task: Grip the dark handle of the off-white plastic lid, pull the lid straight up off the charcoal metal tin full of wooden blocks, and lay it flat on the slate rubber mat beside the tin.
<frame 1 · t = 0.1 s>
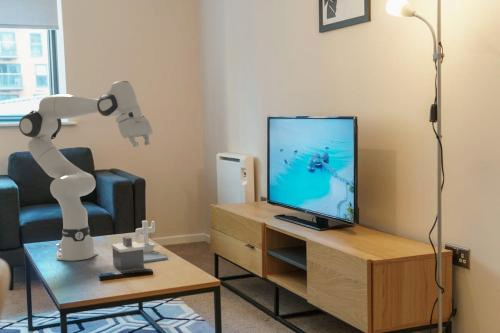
hand: (142, 146, 290), 52 cm above the table, tool tilted 20°, fingers open, 8 cm apart
lid: (127, 251, 289), point 6 cm above the table, touching tin box
tin box: (128, 266, 290), on the table
figurine: (146, 252, 318), on the table
slate mat: (150, 258, 304), on the table
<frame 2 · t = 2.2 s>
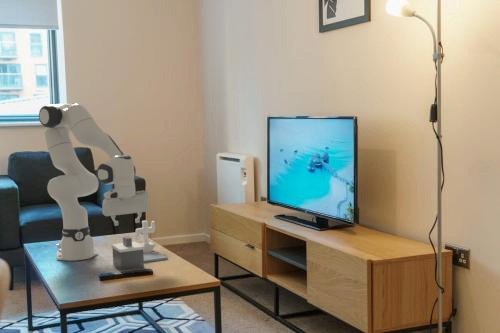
hand: (127, 224, 288), 19 cm above the table, tool pointing down, fingers open, 8 cm apart
nothing on the table moved.
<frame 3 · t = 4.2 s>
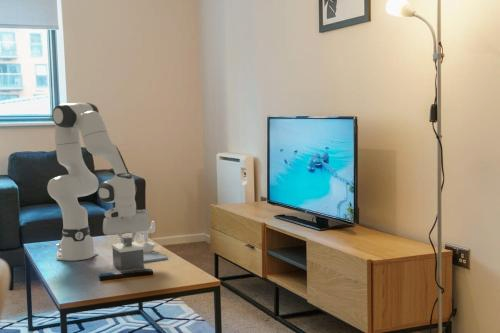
hand: (127, 242, 289), 10 cm above the table, tool pointing down, fingers closed on lid, 2 cm apart
lid: (127, 251, 289), point 6 cm above the table, touching gripper, tin box
everything else where it was.
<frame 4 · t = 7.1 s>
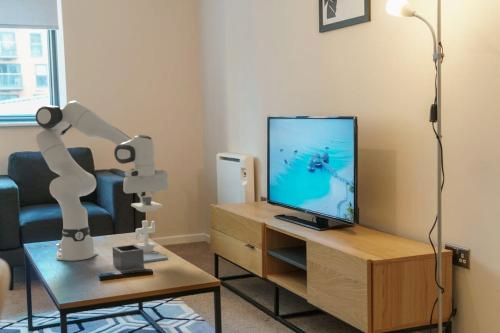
hand: (146, 201, 300), 26 cm above the table, tool pointing down, fingers closed on lid, 2 cm apart
lid: (146, 210, 301), point 22 cm above the table, touching gripper
everything else where it was.
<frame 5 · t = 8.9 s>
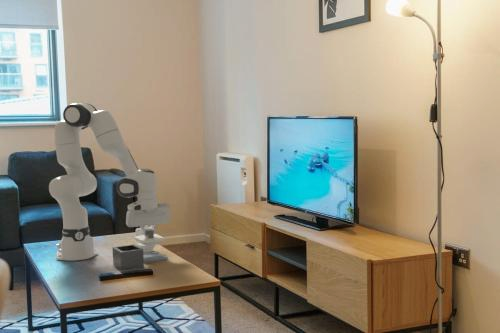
hand: (149, 234, 303), 11 cm above the table, tool pointing down, fingers closed on lid, 2 cm apart
lid: (149, 243, 303), point 7 cm above the table, touching gripper
everything else where it was.
when the fingers open (6 cm above the table, at t = 10.4 s): lid drops 1 cm, resting on slate mat.
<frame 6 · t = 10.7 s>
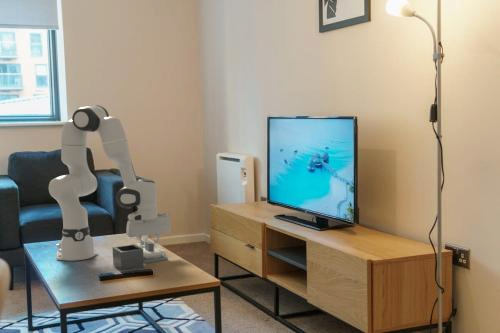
hand: (149, 244, 303), 6 cm above the table, tool pointing down, fingers open, 5 cm apart
lid: (149, 256, 304), point 1 cm above the table, touching slate mat
everything else where it was.
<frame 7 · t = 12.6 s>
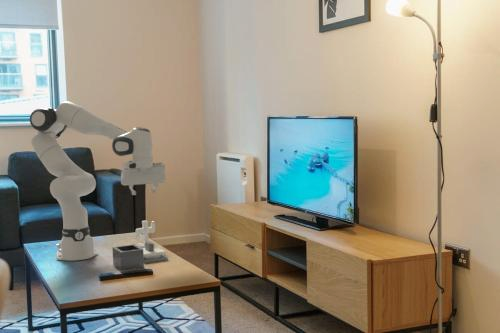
hand: (143, 193, 302), 29 cm above the table, tool pointing down, fingers open, 8 cm apart
nothing on the table moved.
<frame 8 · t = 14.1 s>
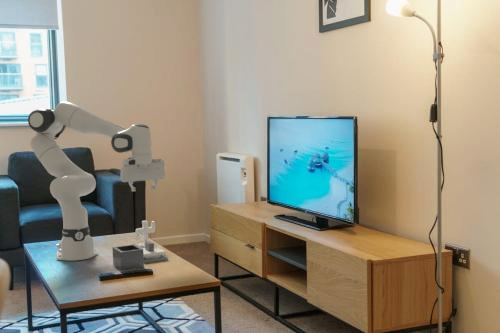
hand: (143, 190, 302), 31 cm above the table, tool pointing down, fingers open, 8 cm apart
nothing on the table moved.
at the end: lid inside the target area on the slate mat (0.1 cm from its centre), point 1.0 cm above the slate mat's base; lid tilted 0°; the gripper is holding nothing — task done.
